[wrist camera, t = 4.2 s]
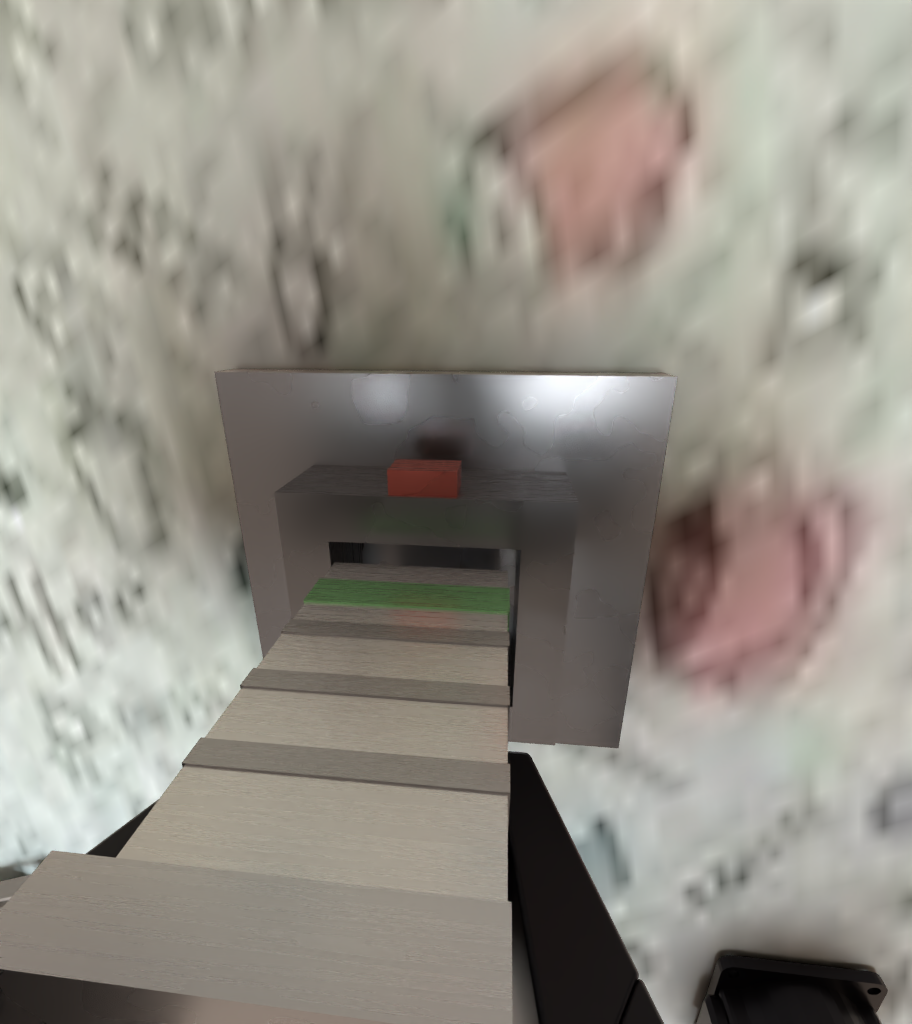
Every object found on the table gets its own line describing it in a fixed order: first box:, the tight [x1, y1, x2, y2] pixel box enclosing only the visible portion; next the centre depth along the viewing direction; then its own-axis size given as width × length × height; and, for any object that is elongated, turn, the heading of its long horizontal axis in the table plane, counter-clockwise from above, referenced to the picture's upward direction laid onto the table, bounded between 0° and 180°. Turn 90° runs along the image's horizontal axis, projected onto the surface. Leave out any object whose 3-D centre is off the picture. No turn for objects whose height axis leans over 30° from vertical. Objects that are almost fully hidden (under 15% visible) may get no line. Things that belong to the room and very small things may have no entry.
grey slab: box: [0, 562, 512, 1024], centre depth 8 cm, size 4×6×8 cm
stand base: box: [215, 369, 678, 748], centre depth 14 cm, size 12×12×4 cm
